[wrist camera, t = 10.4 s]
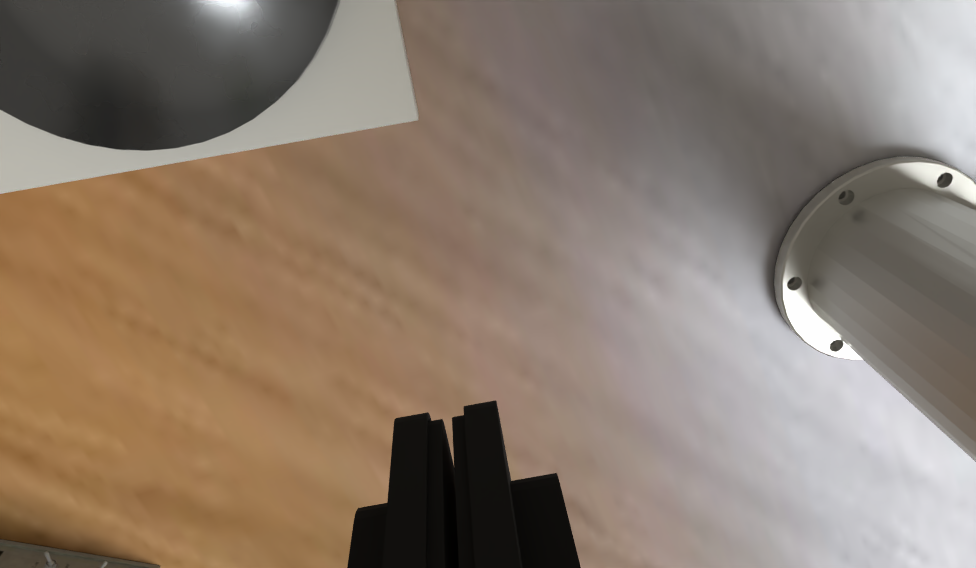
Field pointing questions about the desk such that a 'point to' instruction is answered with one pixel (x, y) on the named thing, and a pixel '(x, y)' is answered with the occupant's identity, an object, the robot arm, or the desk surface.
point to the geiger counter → (57, 558)
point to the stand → (294, 117)
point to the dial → (153, 65)
